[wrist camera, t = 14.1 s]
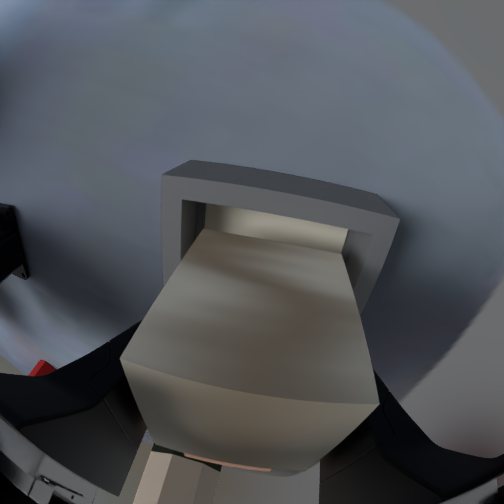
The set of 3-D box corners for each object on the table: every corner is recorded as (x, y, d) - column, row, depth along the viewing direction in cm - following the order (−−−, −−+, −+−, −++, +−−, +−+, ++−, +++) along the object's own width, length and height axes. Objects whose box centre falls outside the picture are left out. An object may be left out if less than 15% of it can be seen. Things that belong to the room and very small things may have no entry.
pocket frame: (188, 377, 19) (177, 408, 17) (190, 159, 11) (162, 175, 9) (295, 397, 19) (293, 429, 16) (376, 194, 11) (400, 218, 8)
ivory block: (199, 328, 12) (155, 444, 7) (203, 228, 10) (119, 357, 4) (306, 347, 12) (304, 471, 7) (341, 254, 9) (379, 404, 4)
